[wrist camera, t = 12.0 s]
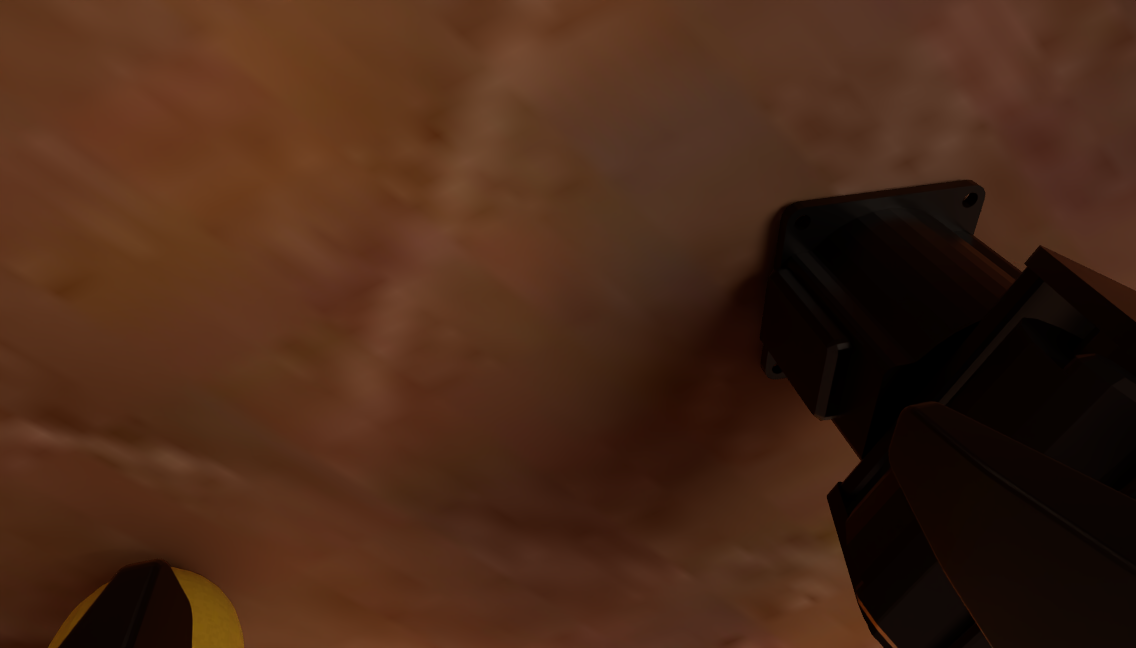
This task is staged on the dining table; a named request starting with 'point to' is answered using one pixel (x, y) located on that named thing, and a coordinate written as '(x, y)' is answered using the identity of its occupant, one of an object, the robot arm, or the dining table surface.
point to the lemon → (211, 611)
